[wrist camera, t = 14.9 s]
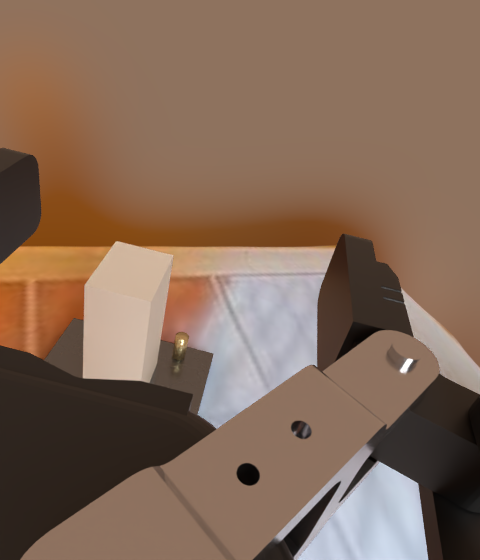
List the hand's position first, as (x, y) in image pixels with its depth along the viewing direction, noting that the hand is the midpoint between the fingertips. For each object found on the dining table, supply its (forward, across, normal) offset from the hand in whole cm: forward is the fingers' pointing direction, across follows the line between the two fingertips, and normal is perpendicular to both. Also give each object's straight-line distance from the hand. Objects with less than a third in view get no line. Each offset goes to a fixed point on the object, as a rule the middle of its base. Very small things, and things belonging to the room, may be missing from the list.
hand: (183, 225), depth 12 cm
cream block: (+15, +6, +25) cm, 30 cm away
